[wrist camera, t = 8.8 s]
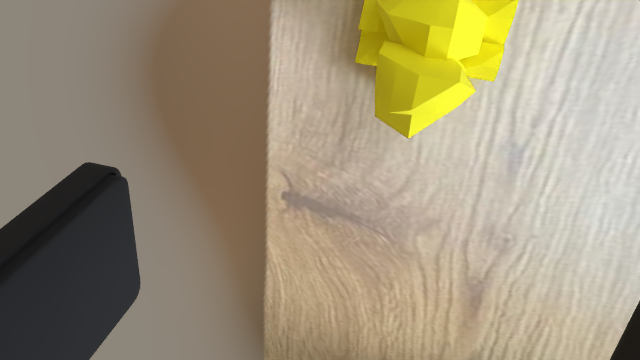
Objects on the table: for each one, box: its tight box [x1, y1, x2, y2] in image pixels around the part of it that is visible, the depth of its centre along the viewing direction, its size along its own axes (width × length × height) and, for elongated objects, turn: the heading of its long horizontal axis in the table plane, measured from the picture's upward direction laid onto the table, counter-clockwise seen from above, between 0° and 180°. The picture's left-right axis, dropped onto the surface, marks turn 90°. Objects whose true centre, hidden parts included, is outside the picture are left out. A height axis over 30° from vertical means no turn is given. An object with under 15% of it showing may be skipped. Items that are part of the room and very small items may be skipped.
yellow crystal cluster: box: [355, 0, 519, 138], centre depth 21 cm, size 6×8×8 cm
